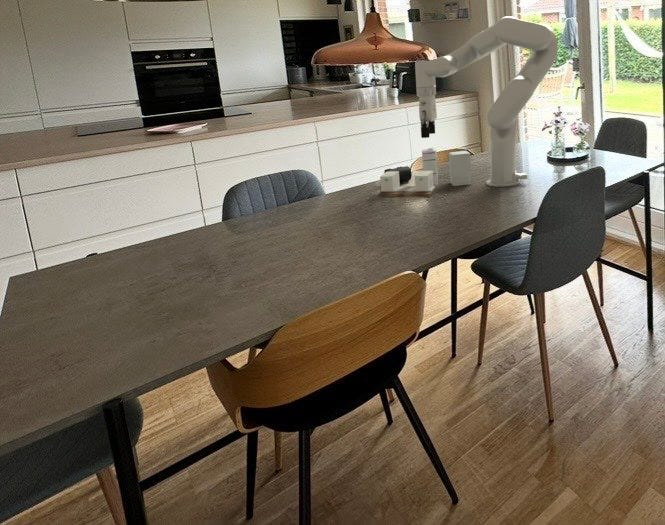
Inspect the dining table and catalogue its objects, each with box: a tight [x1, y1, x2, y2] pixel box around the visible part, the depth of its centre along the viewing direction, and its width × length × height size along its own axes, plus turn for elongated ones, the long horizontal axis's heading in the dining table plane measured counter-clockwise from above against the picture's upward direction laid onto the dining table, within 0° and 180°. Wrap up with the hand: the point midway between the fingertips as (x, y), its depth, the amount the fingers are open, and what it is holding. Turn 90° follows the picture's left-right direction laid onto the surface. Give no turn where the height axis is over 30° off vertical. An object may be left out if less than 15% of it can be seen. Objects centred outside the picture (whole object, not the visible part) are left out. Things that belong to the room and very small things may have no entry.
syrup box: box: [421, 147, 439, 186], centre depth 233 cm, size 6×6×14 cm
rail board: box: [377, 185, 438, 198], centre depth 226 cm, size 21×12×2 cm, turn 67°
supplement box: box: [448, 150, 472, 187], centre depth 230 cm, size 7×7×13 cm
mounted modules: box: [379, 170, 434, 191], centre depth 224 cm, size 19×9×6 cm, turn 67°
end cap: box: [383, 165, 413, 184], centre depth 243 cm, size 10×7×7 cm
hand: (428, 135), depth 229 cm, fingers open, 9 cm apart
